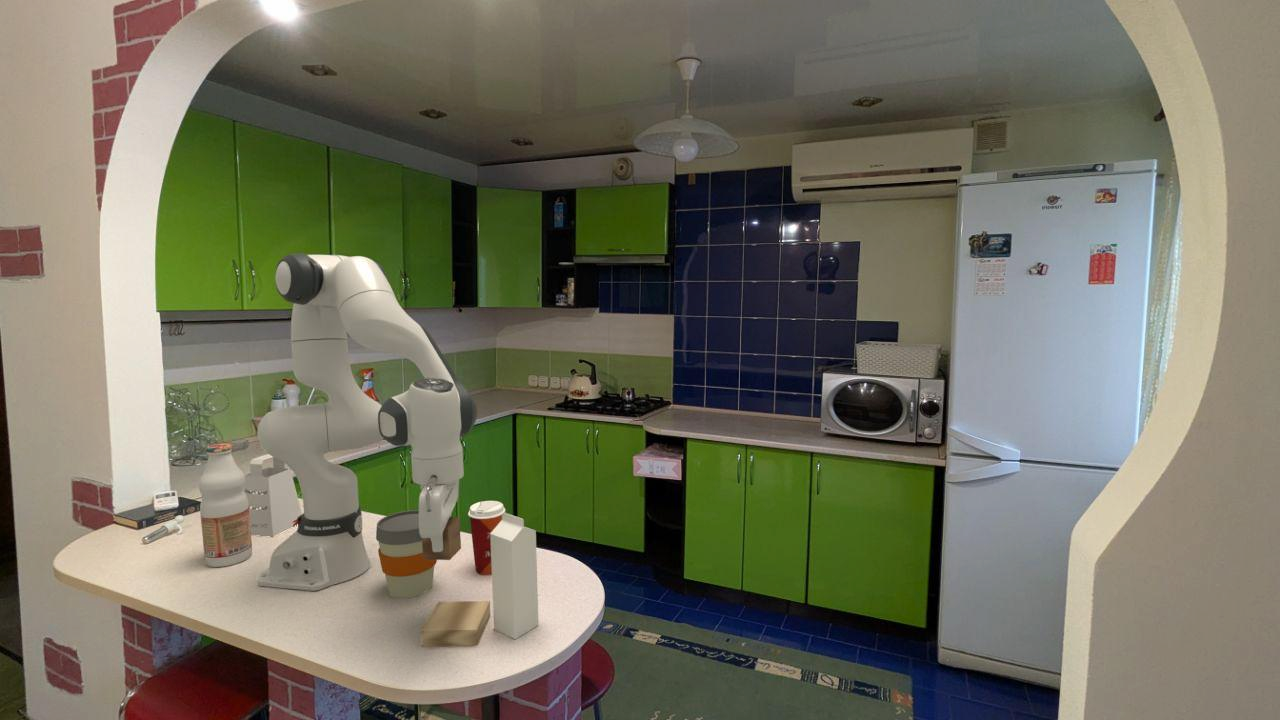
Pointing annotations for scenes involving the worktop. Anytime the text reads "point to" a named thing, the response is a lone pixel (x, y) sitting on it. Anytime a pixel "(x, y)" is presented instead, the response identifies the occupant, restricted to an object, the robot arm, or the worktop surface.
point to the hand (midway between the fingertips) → (441, 542)
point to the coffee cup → (484, 532)
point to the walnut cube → (445, 542)
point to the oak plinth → (456, 624)
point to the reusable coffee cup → (403, 555)
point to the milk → (514, 577)
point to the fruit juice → (224, 509)
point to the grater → (271, 497)
